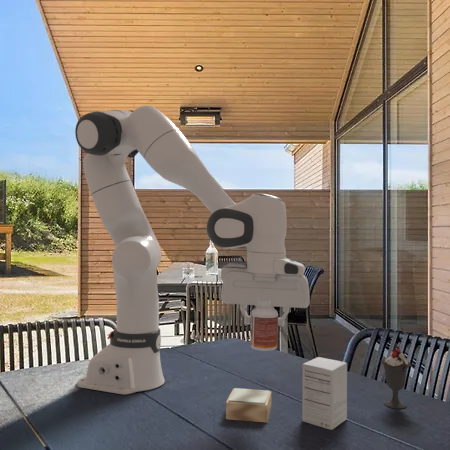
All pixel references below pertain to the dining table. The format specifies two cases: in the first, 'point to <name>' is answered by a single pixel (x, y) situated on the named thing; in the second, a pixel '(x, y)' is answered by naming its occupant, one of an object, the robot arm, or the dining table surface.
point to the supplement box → (324, 392)
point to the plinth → (248, 405)
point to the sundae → (395, 376)
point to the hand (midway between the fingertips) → (264, 325)
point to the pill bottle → (264, 327)
